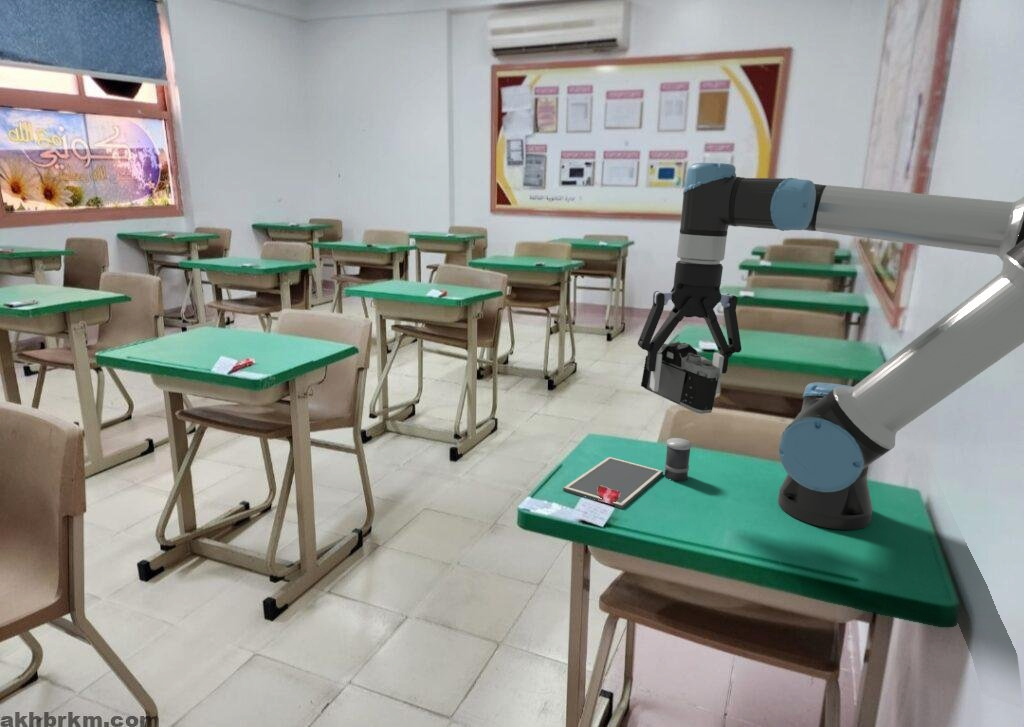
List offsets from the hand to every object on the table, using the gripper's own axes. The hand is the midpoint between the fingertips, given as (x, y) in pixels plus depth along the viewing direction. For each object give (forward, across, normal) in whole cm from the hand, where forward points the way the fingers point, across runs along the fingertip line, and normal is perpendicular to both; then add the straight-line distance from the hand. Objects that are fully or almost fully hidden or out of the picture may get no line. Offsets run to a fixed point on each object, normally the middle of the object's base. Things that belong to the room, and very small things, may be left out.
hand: (684, 390), depth 113 cm
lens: (+21, -4, -11) cm, 24 cm away
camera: (+2, 0, 0) cm, 2 cm away
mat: (+21, +8, -8) cm, 24 cm away
